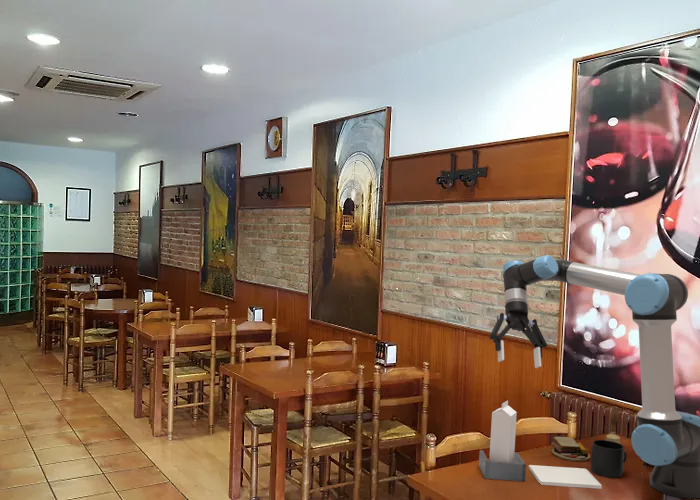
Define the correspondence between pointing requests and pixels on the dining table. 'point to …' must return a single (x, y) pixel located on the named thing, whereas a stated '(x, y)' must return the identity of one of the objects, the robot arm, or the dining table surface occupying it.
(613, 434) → the hand bell
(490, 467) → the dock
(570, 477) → the board
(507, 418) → the milk
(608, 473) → the mug
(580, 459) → the toy sandwich meal
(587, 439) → the dining table surface
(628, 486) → the dining table surface
